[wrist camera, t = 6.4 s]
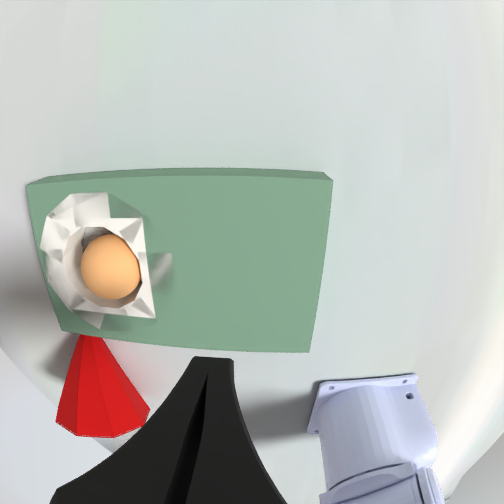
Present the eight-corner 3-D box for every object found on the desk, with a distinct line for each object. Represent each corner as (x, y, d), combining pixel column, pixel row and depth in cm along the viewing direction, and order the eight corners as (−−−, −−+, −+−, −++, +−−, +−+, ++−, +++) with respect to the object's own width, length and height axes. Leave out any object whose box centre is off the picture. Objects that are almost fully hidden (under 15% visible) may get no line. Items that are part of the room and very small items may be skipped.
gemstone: (24, 309, 20) (43, 414, 20) (58, 329, 16) (86, 459, 16) (105, 302, 28) (115, 393, 28) (161, 313, 23) (170, 423, 23)
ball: (68, 233, 16) (120, 218, 19) (73, 288, 18) (120, 270, 21) (99, 261, 14) (157, 241, 17) (104, 321, 16) (154, 297, 19)
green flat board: (323, 172, 17) (333, 180, 15) (304, 329, 21) (309, 352, 19) (47, 176, 17) (25, 185, 15) (75, 312, 22) (61, 330, 19)
